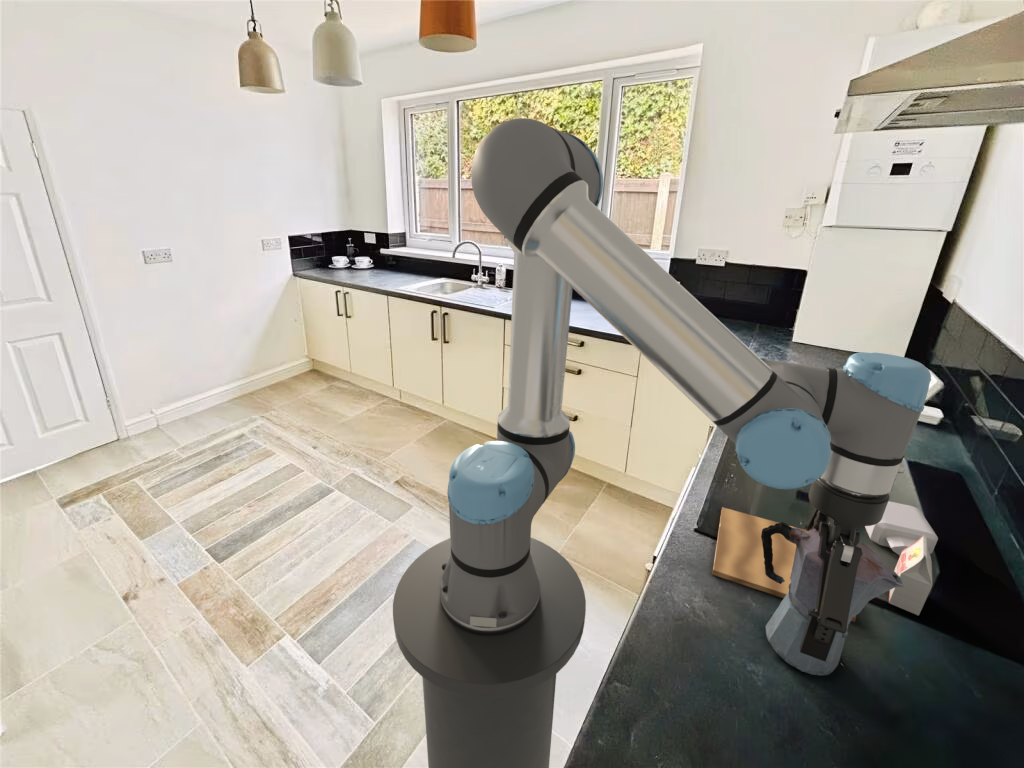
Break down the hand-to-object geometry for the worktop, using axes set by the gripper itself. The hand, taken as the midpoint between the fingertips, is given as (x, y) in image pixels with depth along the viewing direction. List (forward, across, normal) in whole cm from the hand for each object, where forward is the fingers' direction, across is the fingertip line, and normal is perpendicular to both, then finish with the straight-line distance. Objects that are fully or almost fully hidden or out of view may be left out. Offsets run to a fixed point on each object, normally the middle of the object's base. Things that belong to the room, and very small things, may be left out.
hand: (807, 615), depth 62 cm
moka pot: (+6, 0, 0) cm, 6 cm away
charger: (+6, +34, -18) cm, 39 cm away
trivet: (+6, +19, +2) cm, 20 cm away
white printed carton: (+6, +19, -16) cm, 26 cm away
